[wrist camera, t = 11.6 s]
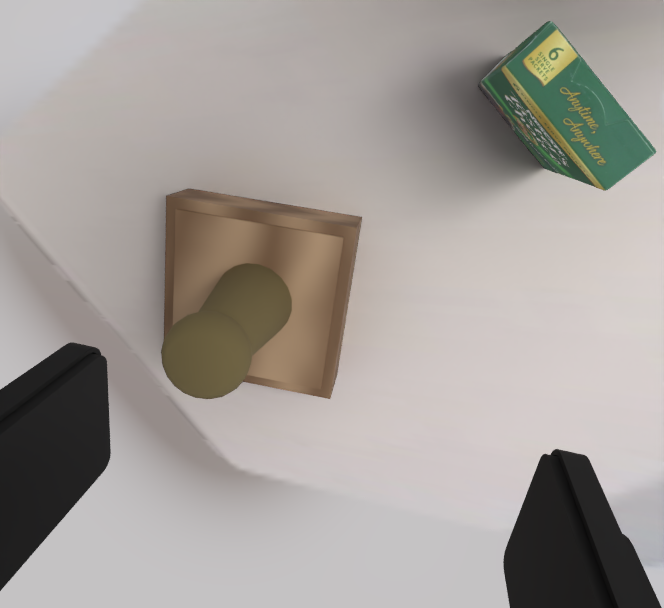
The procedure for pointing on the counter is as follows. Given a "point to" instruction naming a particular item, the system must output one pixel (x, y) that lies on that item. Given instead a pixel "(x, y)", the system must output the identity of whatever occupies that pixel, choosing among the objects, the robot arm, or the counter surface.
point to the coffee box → (565, 111)
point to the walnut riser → (278, 255)
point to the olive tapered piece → (226, 331)
